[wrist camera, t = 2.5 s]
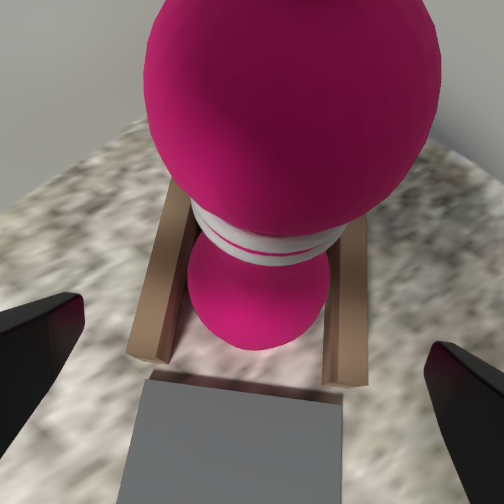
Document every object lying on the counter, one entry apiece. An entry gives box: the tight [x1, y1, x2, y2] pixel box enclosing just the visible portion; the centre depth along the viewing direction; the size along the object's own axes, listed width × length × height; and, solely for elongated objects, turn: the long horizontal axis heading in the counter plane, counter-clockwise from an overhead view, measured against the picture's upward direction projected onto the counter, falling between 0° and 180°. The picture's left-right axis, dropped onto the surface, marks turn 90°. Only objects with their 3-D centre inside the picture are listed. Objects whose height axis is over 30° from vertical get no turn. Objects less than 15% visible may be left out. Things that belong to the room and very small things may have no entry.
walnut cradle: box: [126, 178, 368, 388], centre depth 21 cm, size 10×12×4 cm
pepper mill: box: [143, 0, 441, 351], centre depth 13 cm, size 7×7×20 cm
